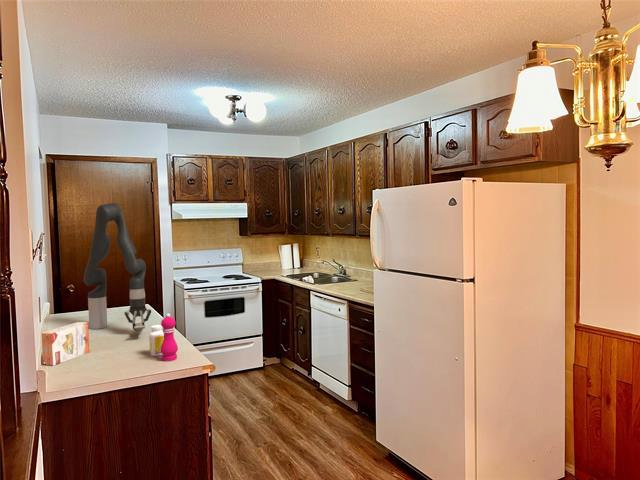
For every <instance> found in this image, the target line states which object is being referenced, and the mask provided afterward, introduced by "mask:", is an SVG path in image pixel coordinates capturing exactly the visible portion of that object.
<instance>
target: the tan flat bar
mask: <svg viewBox="0 0 640 480" xmlns="http://www.w3.org/2000/svg"><path fill="white" fill-rule="evenodd" d="M135 324H136V326H134V329H136V330H135V333H141V332H143V330H144V329H145V328H146V325H145V324H144V325H142V323H141V322H135ZM134 329H133V330H134ZM142 329H143V330H142Z"/></svg>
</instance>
